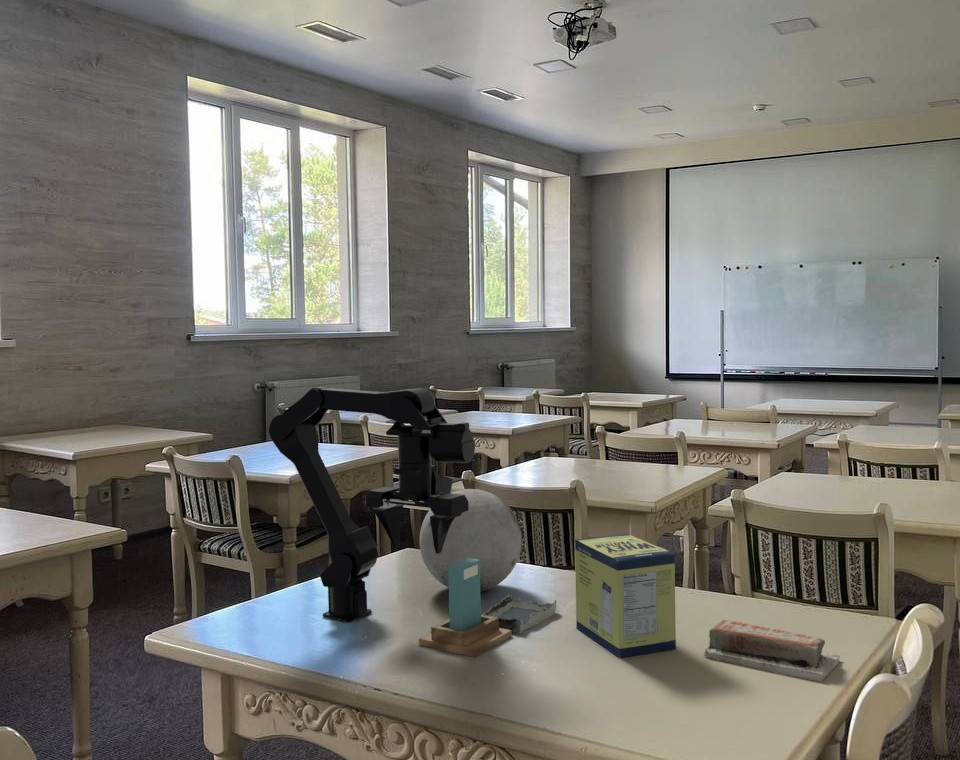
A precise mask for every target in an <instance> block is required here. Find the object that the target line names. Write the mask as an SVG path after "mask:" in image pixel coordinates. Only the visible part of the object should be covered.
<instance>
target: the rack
mask: <svg viewBox="0 0 960 760" xmlns="http://www.w3.org/2000/svg"><path fill="white" fill-rule="evenodd" d="M499 618H500V617H492V616H486V615H482V614H481V624H479V625H477V626H475V627H473V628H471V629H469V630H467V631H465V632H464V631H459V630H454V629H450V620H449V618H447V619H446V620H443V621H442V622H439V623H437V624H435V625H433V626H431V627H430V632H429V633H427V634H425V635H424V636H423V635H422V636H421V637H419V638H418V645H419V644H421V645H420V646H423V645H425V646H424V647H428V646H429V648H432V647H434V648H433V649H438V650H442V651H447V652H451V653H455V654H460V655H465V656H469V657H472V658H473V657H474V658H476V657H478V656H479V655H481V654H483V653H485V652H486V651H488V650H490V649H491V648H493V646H494V647H495V646H497V645H499V644H501V643H502V642H504V641H506V640H508V639H509V638H511V637H512V632H513V631H511V630H507V629H502V628H499ZM500 642H501V643H500ZM484 651H485V652H484Z"/></svg>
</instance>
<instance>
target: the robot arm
mask: <svg viewBox="0 0 960 760" xmlns="http://www.w3.org/2000/svg"><path fill="white" fill-rule="evenodd" d="M329 410H330V411H338V412H340V411H341V412H351V413H362V414H373V415H378V416H381V417H383V418H386V419H387V420H390V421H393V422H394V423H393V424H392V425H391V427H390V428H388V429H387V430H386V432H385V434H386V436H397V451H398V453H397V454H398V458H397V459H398V467H394V468H393V474H394V475H398V487H391V486H390V487H389V486H382V487H379V488H374V489H371V490H370V489H369V490H368V491H367V494H366V495H365V507H366V508H371V510H370V511H371V513H374V514H375V515H376V517H377V519H378V521H380V524H381V525H382V526H383V528H384V530H385V532H386V534H387V536H388V539H389V540H390V543H391V544H392V546H393V547H394V548H398V547H400V541H401V532H400V531H401V530H400V529H401V528H400V527H401V523H400V522H401V520H400V519H401V518H400V517H401V516H400V515H401V513H402V511H403V509H404V506H410V507H421V508H428V509H431V511H432V512H433V514H434V515H433V516H430V522H431V529H432V536H433V543H434V548H435V552H436V553H437V554H438V553H441V551H442V548H443V545H444V542H445V539H446V536H447V533H448V530H449V528H450V525H451V523H452V521H453V520H454V519H455V518H456V517H458V516H461V515H462V513H463V512H466V511H469V505H468V499H467V498H466V496H465V495H462V494H452V487H453V482H454V479H453V478H451V477H448V476H445V475H442V474H438V468H437V465H433V464H432V458H433V459H434V460H435V461H436V462H437V463H454V464H455V463H459V464H469V463H471V462H472V460H473V458H474V455H475V452H476V450H475V449H476V441H475V439H474V435H473V433H472V431H471V430H470V423H469V422H459V423H448V422H447V420H446V419H445V418H444V416H443V414H442V413H441V412H440V411H439V409H438V407H437V406H436V404H435V399H434V397H433V395H432V394H431V392H430V391H429V390H427V389H426V388H421V387H419V388H418V387H417V388H409V389H400V390H393V391H374V390H371V391H370V390H360V389H359V390H358V389H345V388H334V387H329V386H319V387H312V388H310V389H309V390H307V392H306V393H305V394H304V395H303V396H302V397H301V398H299V400H297V401H296V402H295V403H294V404H292V405H290V406H289V407H288V408H287V409H286V410H284V412H282V414H278V415H276V416H274V417H273V418H272V420H271V421H270V423H269V428H268V430H267V431H268V435H269V436H268V437H269V438H270V439H271V441H272V442H273V445H274V446H275V447H276V448H277V449H278V451H279V453H280V454H282V455H283V456H284V457H285V458H286V459H288V460H289V461H290V462H291V463H292V464H293V466H294V468H295V469H296V471H297V473H298V475H299V478H300V479H301V481H302V484H303V485H304V487H305V489H306V491H307V494H308V495H309V497H310V499H311V502H312V505H314V508H315V510H316V512H317V514H318V516H319V518H320V520H321V522H322V525H323V526H324V529H325V530H326V533H327V537H328V539H327V541H328V543H327V545H328V546H327V547H328V548H327V549H328V550H327V551H328V554H329V558H330V561H331V563H330V564H329V565H328V566H327V567H326V568H325V569H324V570H323V571H322V572H321V574H320V575H319V577H320V580H321V583H322V586H323V587H326V588H327V595H328V596H327V597H328V598H327V599H328V603H327V604H328V611H325V612H323V613H322V617H323V618H329V619H334V620H338V621H341V622H342V621H343V622H347V623H349V622H352V621H354V620H358V619H360V618H362V617H365V616H366V615H368V614H372V611H373V610H372V609H370V608H368V596H367V595H368V594H367V593H368V591H367V590H366V580H365V581H364V578H367V577H369V576H370V573H371V570H372V568H373V567H374V566H375V565H376V563H377V560H378V557H379V552H378V549H377V546H379V544H378V542H376V541H375V539H374V537H373V535H372V533H371V529H370V528H369V526H368V525H366V526H362V527H359V526H358V525H357V524H356V523H355V522H353V519H352V518H351V516H350V513H349V511H348V510H347V508H346V506H345V503H344V501H343V499H342V498H341V495H340V494H339V491H338V489H337V488H336V486H335V483H334V481H333V479H332V477H331V475H330V473H329V471H328V468H327V467H326V465H325V463H324V461H323V459H322V457H321V454H320V453H319V433H318V432H317V428H316V427H317V426H318V425H320V423H321V422H322V421H323V420H324V418H325V416H326V415H327V412H328V411H329ZM407 424H408V425H407Z"/></svg>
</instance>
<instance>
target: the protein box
mask: <svg viewBox="0 0 960 760" xmlns="http://www.w3.org/2000/svg"><path fill="white" fill-rule="evenodd" d="M574 542H575V544H574V548H575V549H574V551H575V552H574V553H575V555H574V556H575V612H576V613H575V615H576V616H575V617H576V619H575V620H576V629H577V630H578V631H580V632H581V633H583V635H586V636H587V637H588V638H590V639H592V641H594V642H595V643H597V644H598V645H599V646H601V647H603V648H604V649H606V650H607V651H608V652H610V653H611V654H613V655H614V656H616V657H617V658H619V657H620V658H621V657H622V658H625V657H631V656H638V655H645V654H651V653H656V652H664V651H669V649H670V650H674V649H677V639H676V633H677V632H676V571H675V570H676V566H675V565H676V564H675V561H676V559H675V553H674V552H672V551H670V550H668V549H665V548H662V547H660V546H658V545H655V544H652V543H651V542H648V541H645V540H643V539H640V538H638V537H636V536H634V535H631V534H629V533H624V534H614V535H606V536H597V537H596V536H595V537H588V538H576V539H574ZM663 650H664V651H663Z"/></svg>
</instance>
